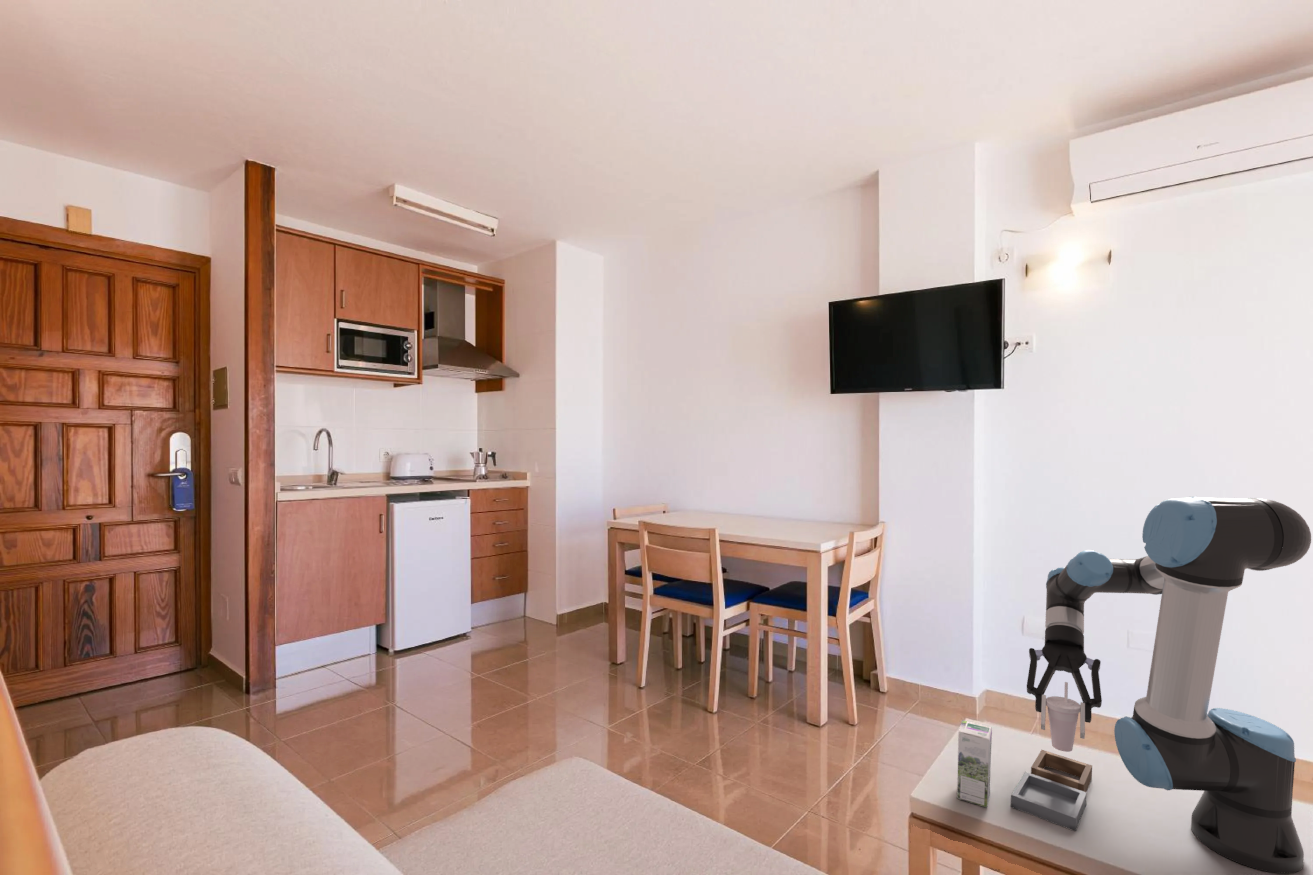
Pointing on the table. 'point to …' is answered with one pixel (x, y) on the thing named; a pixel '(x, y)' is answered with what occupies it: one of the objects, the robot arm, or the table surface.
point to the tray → (1049, 800)
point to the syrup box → (974, 763)
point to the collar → (1062, 765)
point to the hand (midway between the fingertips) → (1062, 731)
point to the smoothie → (1062, 720)
